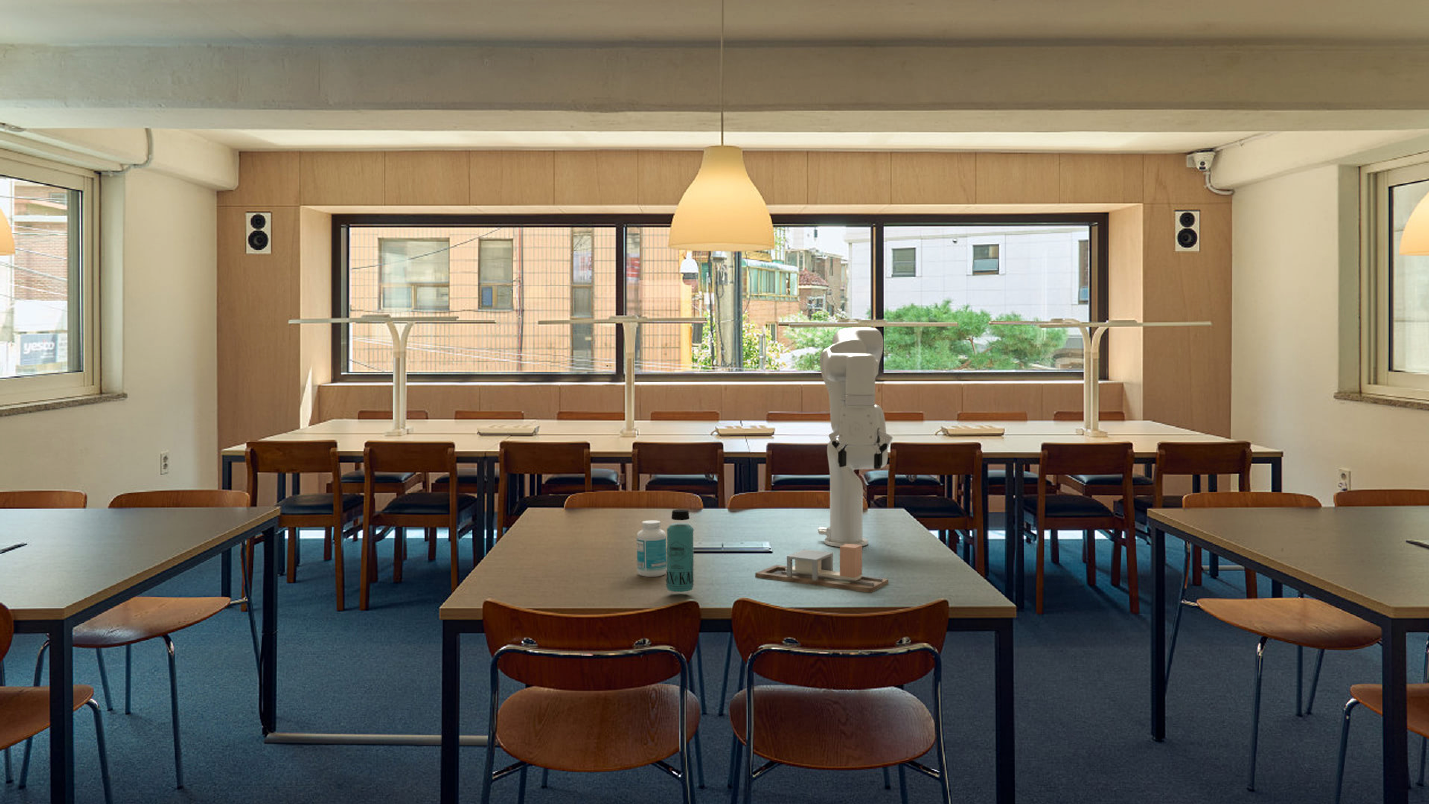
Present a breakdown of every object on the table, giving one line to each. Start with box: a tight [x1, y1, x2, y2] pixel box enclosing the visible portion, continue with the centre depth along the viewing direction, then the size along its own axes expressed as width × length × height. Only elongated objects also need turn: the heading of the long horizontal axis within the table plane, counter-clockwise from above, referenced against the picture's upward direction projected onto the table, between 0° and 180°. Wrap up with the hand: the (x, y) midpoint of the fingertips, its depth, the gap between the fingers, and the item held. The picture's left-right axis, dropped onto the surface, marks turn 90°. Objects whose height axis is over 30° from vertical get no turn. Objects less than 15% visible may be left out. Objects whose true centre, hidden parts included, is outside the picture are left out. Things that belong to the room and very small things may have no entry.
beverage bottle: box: [665, 508, 695, 593], centre depth 227 cm, size 6×7×20 cm
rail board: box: [754, 564, 889, 594], centre depth 243 cm, size 31×11×2 cm, turn 58°
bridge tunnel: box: [786, 549, 834, 580], centre depth 244 cm, size 8×10×5 cm
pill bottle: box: [636, 519, 667, 578], centre depth 249 cm, size 8×7×14 cm
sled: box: [785, 544, 863, 580], centre depth 242 cm, size 19×5×8 cm, turn 58°
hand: (859, 467), depth 255 cm, fingers open, 9 cm apart
